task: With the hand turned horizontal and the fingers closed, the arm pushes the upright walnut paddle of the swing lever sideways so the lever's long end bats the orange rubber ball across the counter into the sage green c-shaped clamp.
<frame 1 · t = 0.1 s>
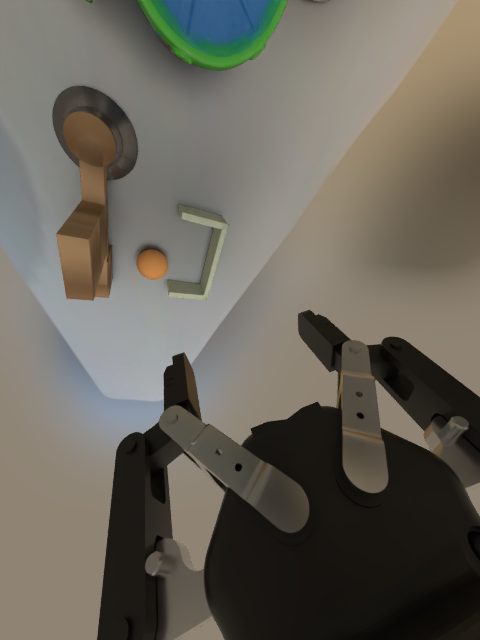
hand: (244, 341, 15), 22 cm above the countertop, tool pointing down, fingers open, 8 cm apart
ball: (152, 264, 30), point 2 cm above the countertop
sage green c-shaped clamp: (192, 252, 32), on the countertop
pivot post: (99, 137, 22), on the countertop
lever: (92, 233, 21), point 7 cm above the countertop, hinge at 0.0°
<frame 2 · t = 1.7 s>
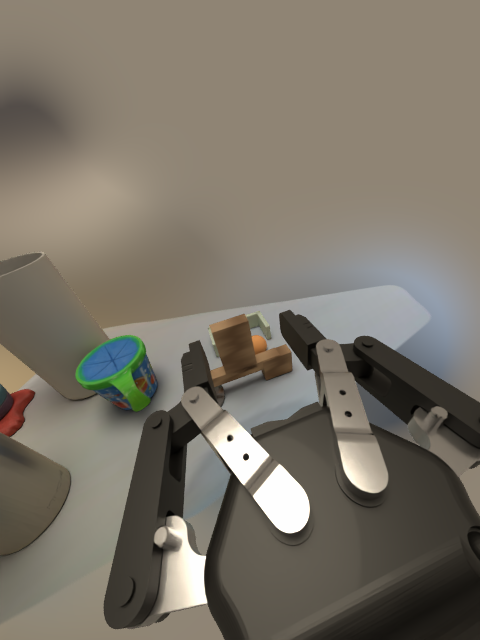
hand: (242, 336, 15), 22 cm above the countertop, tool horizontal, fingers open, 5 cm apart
ball: (256, 345, 42), point 2 cm above the countertop
stacking bear: (1, 421, 42), on the countertop
sage green c-shaped clamp: (240, 338, 48), on the countertop
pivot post: (204, 398, 37), on the countertop
snack cup: (139, 393, 41), on the countertop
lever: (236, 357, 34), point 7 cm above the countertop, hinge at 0.0°
cylinder vase: (96, 375, 47), on the countertop
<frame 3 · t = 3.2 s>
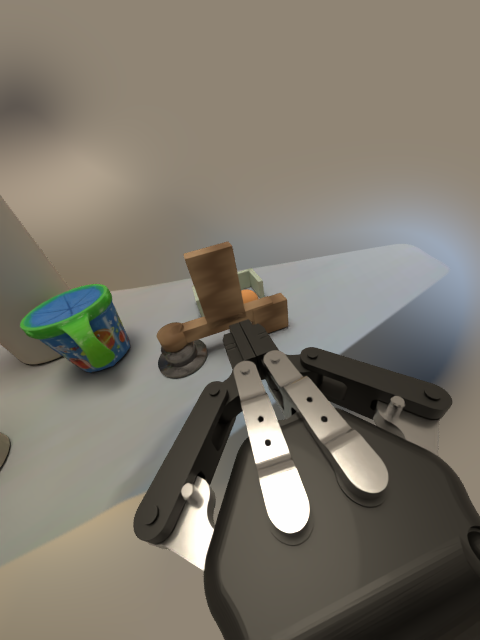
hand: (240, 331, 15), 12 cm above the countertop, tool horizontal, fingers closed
ball: (246, 301, 36), point 2 cm above the countertop
sage green c-shaped clamp: (229, 299, 41), on the countertop
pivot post: (183, 358, 31), on the countertop
snack cup: (108, 356, 35), on the countertop
lever: (219, 302, 28), point 7 cm above the countertop, hinge at 0.0°
cylinder vase: (62, 340, 41), on the countertop
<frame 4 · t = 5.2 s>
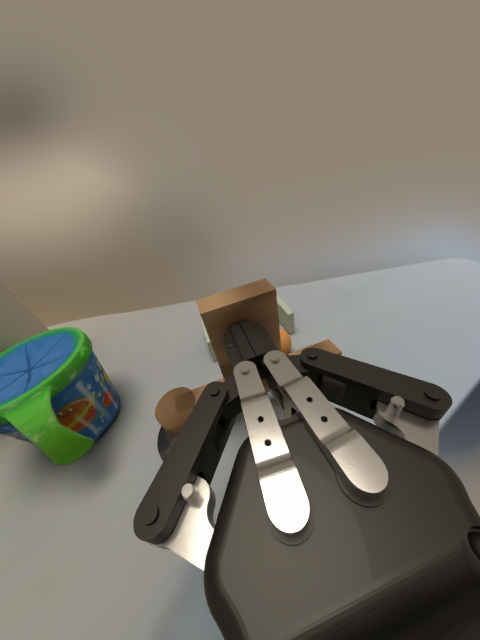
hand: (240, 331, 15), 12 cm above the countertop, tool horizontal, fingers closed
ball: (274, 342, 27), point 2 cm above the countertop
sage green c-shaped clamp: (248, 333, 32), on the countertop
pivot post: (193, 432, 22), on the countertop
snack cup: (90, 420, 26), on the countertop
lever: (247, 362, 19), point 7 cm above the countertop, hinge at 0.3°, touching gripper
cylinder vase: (35, 389, 32), on the countertop
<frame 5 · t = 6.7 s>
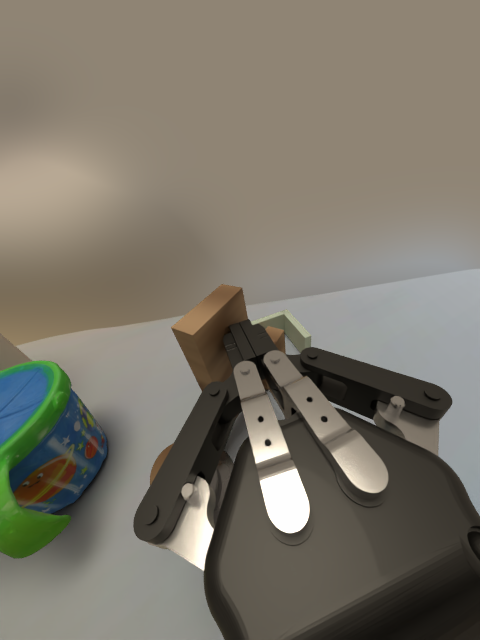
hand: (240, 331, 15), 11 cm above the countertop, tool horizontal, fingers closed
sage green c-shaped clamp: (257, 356, 28), on the countertop
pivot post: (197, 490, 18), on the countertop
snack cup: (72, 468, 22), on the countertop
lever: (228, 375, 18), point 7 cm above the countertop, hinge at 39.1°, touching ball, gripper
cylinder vase: (8, 424, 27), on the countertop
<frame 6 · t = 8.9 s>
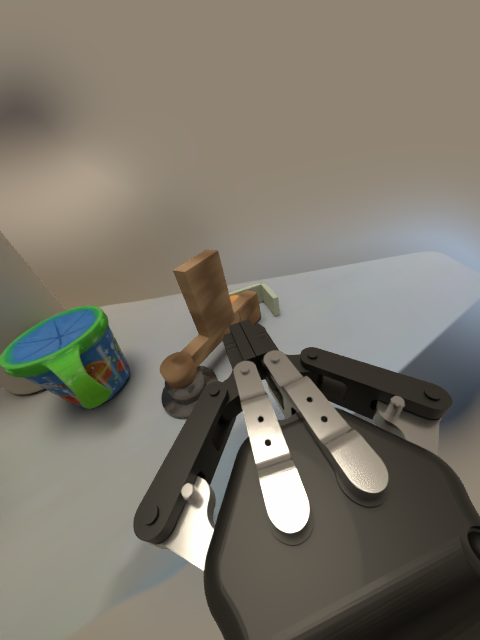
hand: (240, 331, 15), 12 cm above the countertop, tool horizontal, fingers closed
ball: (236, 307, 36), point 2 cm above the countertop, tilted 163°, touching lever, sage green c-shaped clamp
sage green c-shaped clamp: (240, 316, 37), on the countertop
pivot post: (191, 391, 27), on the countertop
snack cup: (105, 385, 31), on the countertop
lever: (211, 313, 27), point 7 cm above the countertop, hinge at 39.0°, touching ball
cylinder vase: (56, 364, 37), on the countertop
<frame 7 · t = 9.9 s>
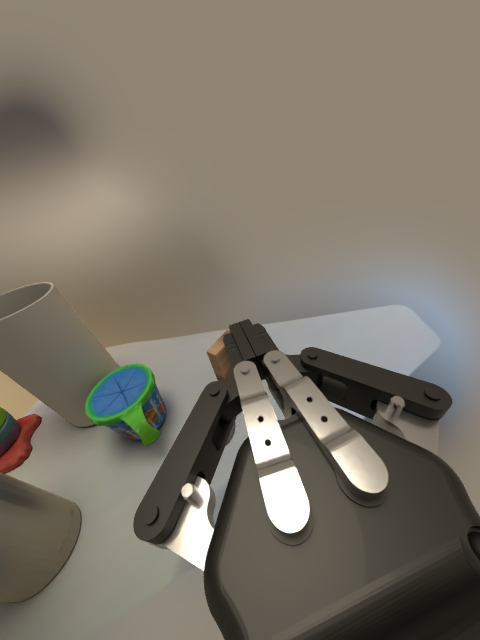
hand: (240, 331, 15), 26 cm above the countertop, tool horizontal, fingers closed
stacking bear: (8, 449, 41), on the countertop
snack cup: (147, 420, 41), on the countertop
lever: (230, 372, 37), point 7 cm above the countertop, hinge at 39.0°, touching ball
cylinder vase: (103, 399, 47), on the countertop
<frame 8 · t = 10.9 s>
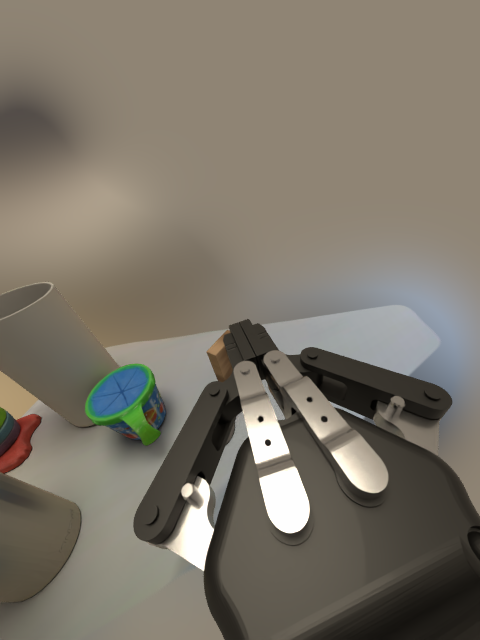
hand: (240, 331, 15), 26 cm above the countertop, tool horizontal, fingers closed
stacking bear: (8, 449, 41), on the countertop
snack cup: (147, 420, 41), on the countertop
lever: (230, 372, 37), point 7 cm above the countertop, hinge at 39.0°, touching ball
cylinder vase: (103, 399, 47), on the countertop
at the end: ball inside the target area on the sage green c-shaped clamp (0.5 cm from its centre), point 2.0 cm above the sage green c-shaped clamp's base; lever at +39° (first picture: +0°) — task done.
